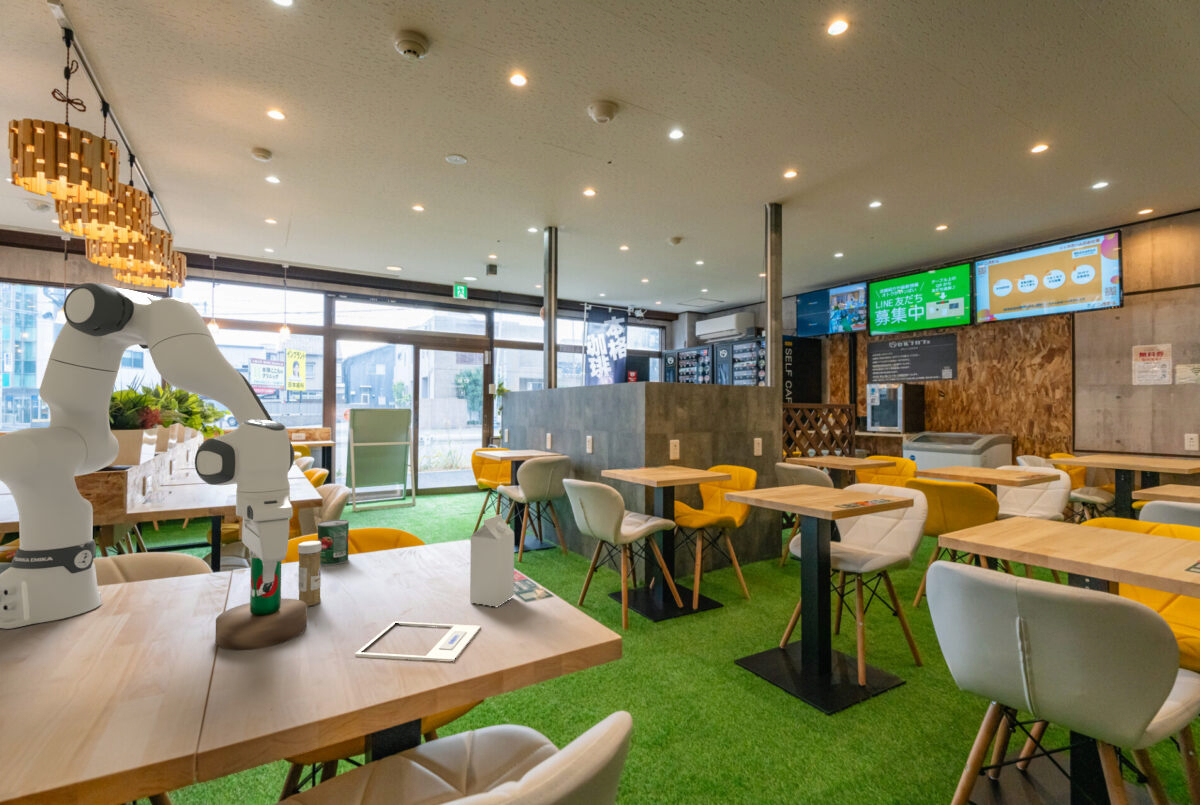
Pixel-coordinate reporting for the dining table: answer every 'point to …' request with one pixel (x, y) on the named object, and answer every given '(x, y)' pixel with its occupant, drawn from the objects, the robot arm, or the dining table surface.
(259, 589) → the soda can
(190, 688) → the dining table surface
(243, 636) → the walnut riser
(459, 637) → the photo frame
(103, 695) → the dining table surface
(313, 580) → the sprinkles bottle
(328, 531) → the canned tomato
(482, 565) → the milk carton
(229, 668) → the dining table surface
